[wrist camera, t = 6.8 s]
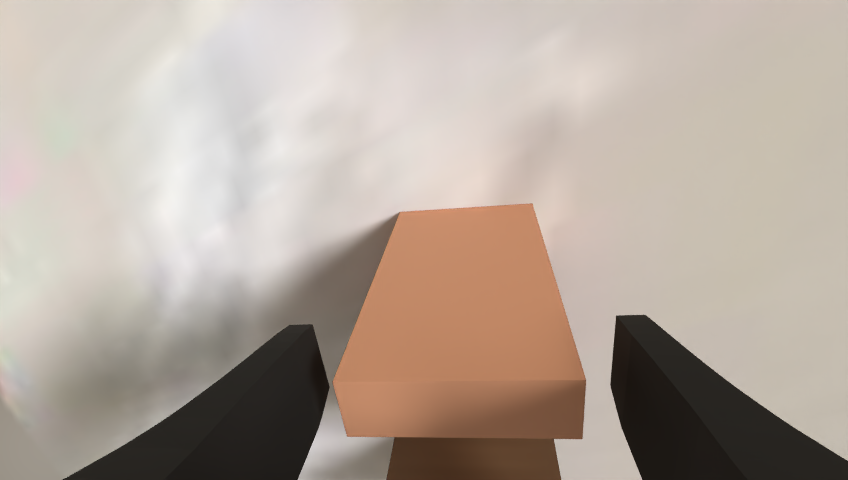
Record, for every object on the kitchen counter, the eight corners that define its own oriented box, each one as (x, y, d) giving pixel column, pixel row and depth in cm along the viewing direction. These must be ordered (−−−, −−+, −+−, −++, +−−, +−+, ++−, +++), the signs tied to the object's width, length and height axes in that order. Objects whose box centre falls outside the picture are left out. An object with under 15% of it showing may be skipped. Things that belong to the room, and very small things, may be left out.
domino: (532, 354, 19) (572, 588, 11) (420, 356, 20) (383, 577, 12) (532, 324, 19) (574, 551, 11) (416, 328, 19) (373, 543, 11)
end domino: (532, 242, 17) (582, 439, 9) (405, 248, 18) (347, 436, 10) (532, 203, 16) (586, 379, 8) (399, 212, 17) (332, 381, 9)
